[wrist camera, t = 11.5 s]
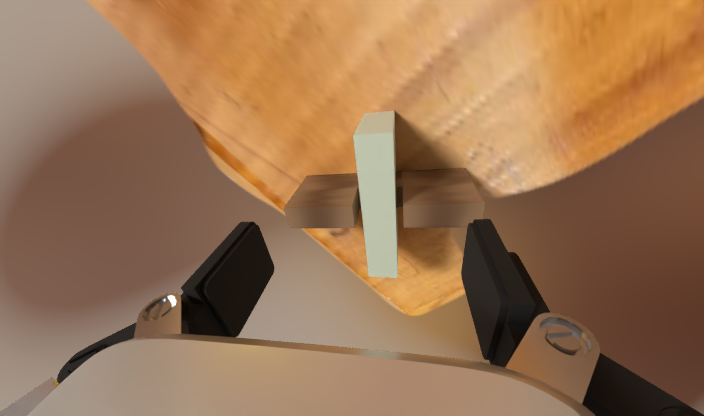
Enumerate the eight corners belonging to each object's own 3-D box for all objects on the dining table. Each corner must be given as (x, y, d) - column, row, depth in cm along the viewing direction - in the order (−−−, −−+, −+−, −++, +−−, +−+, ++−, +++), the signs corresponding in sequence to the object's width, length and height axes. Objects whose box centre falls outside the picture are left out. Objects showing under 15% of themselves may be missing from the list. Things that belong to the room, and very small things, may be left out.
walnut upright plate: (465, 168, 27) (485, 203, 21) (463, 188, 28) (481, 227, 22) (307, 175, 31) (283, 208, 24) (311, 193, 32) (289, 228, 26)
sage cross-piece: (394, 110, 25) (393, 132, 19) (397, 231, 33) (397, 277, 26) (364, 113, 26) (353, 135, 19) (374, 231, 34) (368, 276, 27)
